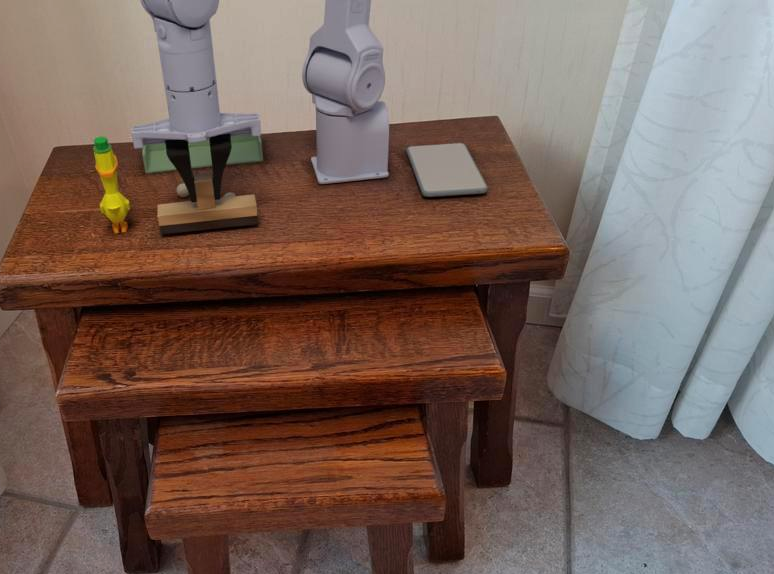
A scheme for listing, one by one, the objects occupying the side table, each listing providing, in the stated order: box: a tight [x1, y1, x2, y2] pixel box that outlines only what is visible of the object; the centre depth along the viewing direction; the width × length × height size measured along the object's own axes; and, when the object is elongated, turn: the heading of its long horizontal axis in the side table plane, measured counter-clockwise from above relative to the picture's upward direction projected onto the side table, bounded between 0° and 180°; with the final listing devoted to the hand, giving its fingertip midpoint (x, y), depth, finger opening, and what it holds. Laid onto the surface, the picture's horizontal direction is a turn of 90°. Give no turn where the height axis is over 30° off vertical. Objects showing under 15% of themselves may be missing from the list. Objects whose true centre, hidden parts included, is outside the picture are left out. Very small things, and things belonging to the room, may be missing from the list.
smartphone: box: [405, 142, 489, 198], centre depth 102 cm, size 8×1×15 cm
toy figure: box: [92, 136, 131, 234], centre depth 93 cm, size 7×4×12 cm, turn 9°
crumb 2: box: [222, 192, 237, 198], centre depth 99 cm, size 2×2×2 cm
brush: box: [156, 172, 259, 235], centre depth 93 cm, size 12×3×6 cm, turn 96°
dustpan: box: [141, 134, 264, 174], centre depth 111 cm, size 10×17×3 cm, turn 96°
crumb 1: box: [176, 183, 190, 199], centre depth 102 cm, size 2×2×2 cm
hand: (205, 197), depth 92 cm, fingers closed on brush, 2 cm apart
